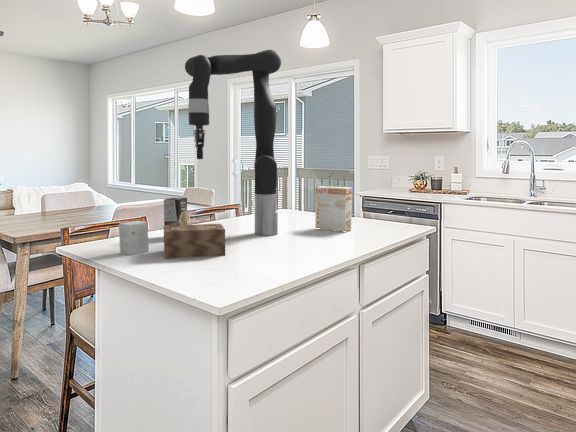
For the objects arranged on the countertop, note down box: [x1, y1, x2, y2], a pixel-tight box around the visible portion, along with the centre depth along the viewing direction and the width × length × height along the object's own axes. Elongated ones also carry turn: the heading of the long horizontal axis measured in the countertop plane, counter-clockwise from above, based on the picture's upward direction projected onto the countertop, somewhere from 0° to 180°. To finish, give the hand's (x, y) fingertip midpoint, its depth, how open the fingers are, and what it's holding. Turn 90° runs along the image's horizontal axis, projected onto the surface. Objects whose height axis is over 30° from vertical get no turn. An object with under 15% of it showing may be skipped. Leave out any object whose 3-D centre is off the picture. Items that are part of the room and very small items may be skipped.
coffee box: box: [163, 197, 189, 227], centre depth 185 cm, size 9×6×16 cm
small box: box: [118, 220, 150, 256], centre depth 159 cm, size 8×6×10 cm
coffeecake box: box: [314, 185, 353, 232], centre depth 206 cm, size 15×7×20 cm, turn 58°
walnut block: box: [163, 223, 226, 259], centre depth 158 cm, size 20×12×9 cm, turn 105°
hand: (199, 159), depth 173 cm, fingers closed
